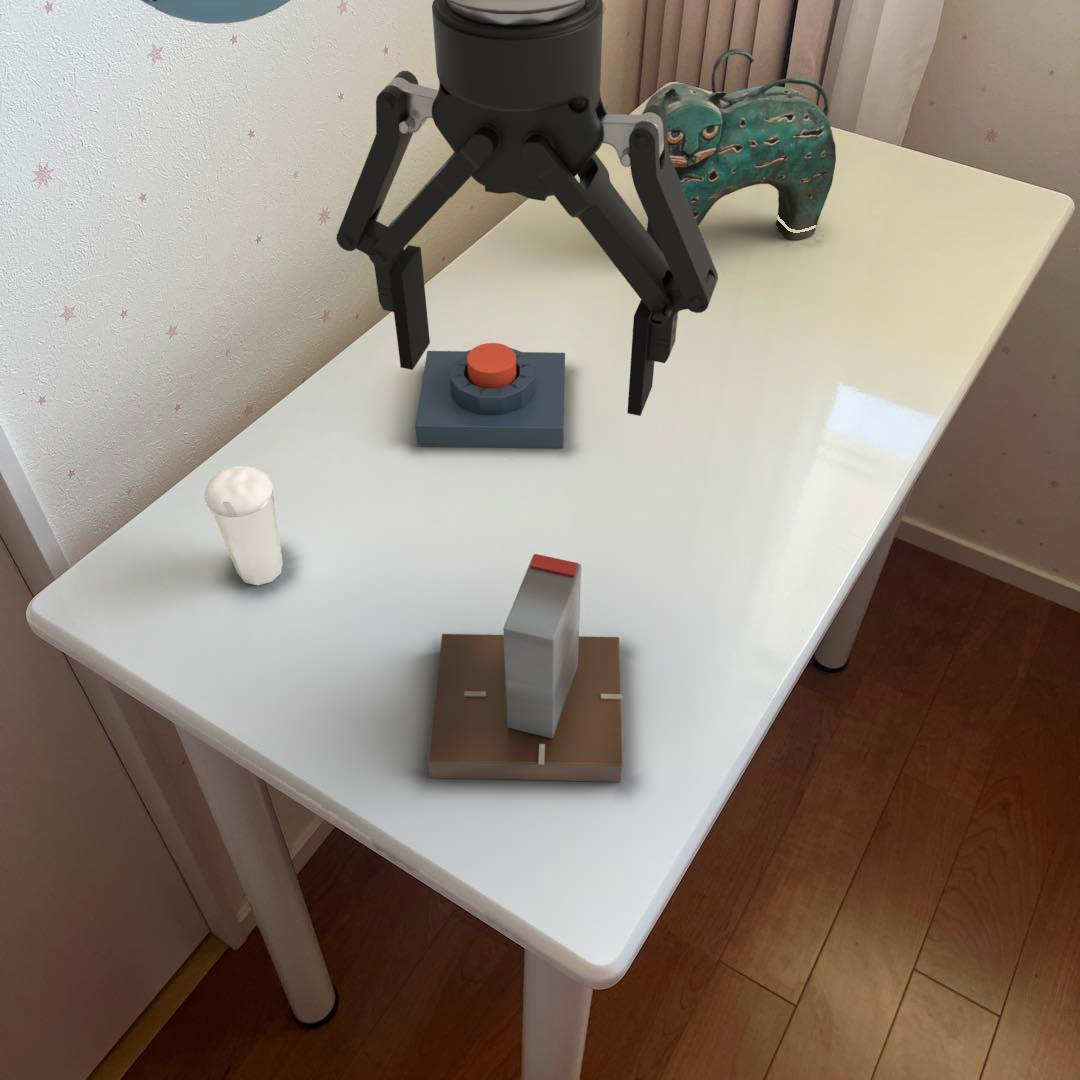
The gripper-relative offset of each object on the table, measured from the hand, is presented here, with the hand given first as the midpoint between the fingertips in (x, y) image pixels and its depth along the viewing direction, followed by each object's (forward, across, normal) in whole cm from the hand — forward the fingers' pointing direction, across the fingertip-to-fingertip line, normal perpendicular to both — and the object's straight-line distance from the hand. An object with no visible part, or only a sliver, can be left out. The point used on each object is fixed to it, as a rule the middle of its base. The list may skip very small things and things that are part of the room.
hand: (525, 377), depth 63 cm
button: (+17, +10, -20) cm, 28 cm away
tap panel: (+21, -3, +8) cm, 23 cm away
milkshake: (+21, +20, +3) cm, 29 cm away
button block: (+21, +10, -20) cm, 31 cm away
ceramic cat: (+21, -4, -51) cm, 56 cm away
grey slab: (+19, -4, +8) cm, 21 cm away
